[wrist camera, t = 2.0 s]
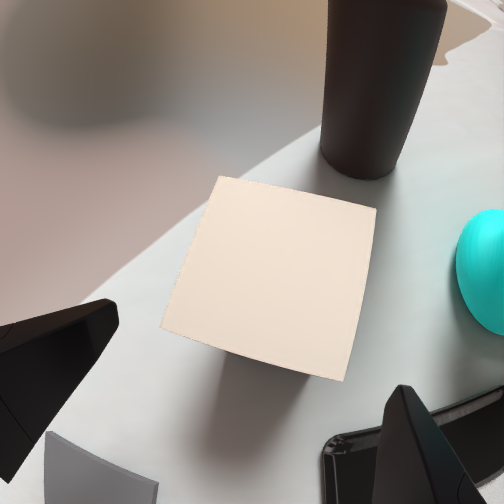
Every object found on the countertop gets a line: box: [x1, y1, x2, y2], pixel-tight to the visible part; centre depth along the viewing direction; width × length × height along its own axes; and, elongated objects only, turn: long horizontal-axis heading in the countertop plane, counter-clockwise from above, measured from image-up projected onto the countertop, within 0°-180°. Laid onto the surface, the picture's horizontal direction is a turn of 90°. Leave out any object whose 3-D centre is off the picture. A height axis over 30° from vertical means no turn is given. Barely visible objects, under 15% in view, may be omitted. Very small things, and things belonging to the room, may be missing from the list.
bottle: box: [320, 0, 447, 180], centre depth 14 cm, size 7×7×20 cm
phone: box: [323, 385, 504, 504], centre depth 13 cm, size 8×1×15 cm
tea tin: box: [160, 176, 377, 382], centre depth 14 cm, size 6×6×10 cm
